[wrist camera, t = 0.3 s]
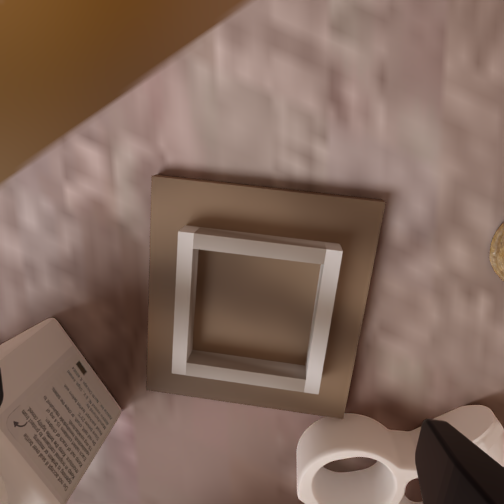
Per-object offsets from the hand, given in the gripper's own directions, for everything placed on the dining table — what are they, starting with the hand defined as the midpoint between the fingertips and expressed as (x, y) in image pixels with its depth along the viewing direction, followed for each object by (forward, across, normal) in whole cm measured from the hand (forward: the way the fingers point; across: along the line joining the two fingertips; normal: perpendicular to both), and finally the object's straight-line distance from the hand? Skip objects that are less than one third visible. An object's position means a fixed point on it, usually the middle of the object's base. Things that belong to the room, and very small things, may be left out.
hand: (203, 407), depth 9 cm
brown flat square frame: (+14, 0, +4) cm, 15 cm away
